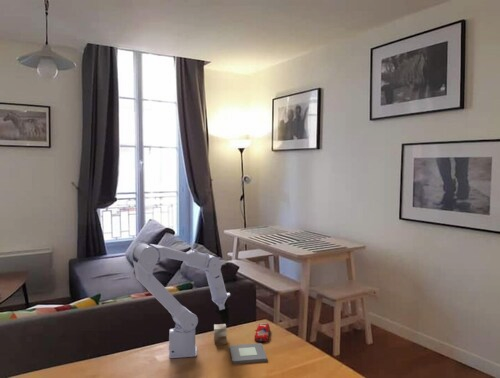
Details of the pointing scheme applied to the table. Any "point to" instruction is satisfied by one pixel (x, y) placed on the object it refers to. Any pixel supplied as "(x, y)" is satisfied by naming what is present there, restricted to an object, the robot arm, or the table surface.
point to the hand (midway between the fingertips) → (225, 318)
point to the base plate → (247, 353)
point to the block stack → (220, 334)
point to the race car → (262, 332)
